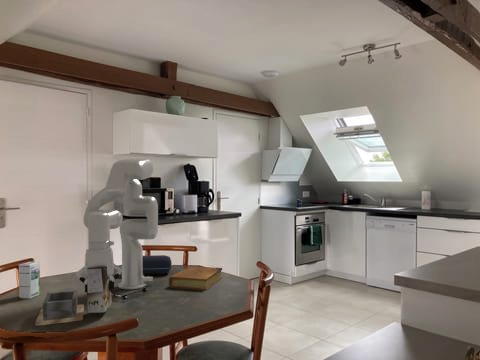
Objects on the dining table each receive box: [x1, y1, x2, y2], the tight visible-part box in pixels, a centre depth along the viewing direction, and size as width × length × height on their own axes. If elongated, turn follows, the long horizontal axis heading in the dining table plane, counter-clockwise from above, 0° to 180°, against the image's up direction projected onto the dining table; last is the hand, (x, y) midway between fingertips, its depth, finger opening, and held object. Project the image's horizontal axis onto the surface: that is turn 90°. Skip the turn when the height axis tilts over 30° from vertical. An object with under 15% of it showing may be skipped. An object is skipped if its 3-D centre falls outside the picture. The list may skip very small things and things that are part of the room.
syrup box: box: [18, 261, 41, 299], centre depth 163 cm, size 6×6×14 cm
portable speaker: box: [143, 254, 172, 276], centre depth 202 cm, size 25×10×10 cm, turn 95°
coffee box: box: [87, 267, 112, 314], centre depth 140 cm, size 9×6×16 cm
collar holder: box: [34, 289, 85, 327], centre depth 139 cm, size 15×15×7 cm
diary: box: [168, 265, 223, 291], centre depth 185 cm, size 23×19×6 cm
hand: (99, 292), depth 140 cm, fingers closed on coffee box, 7 cm apart
